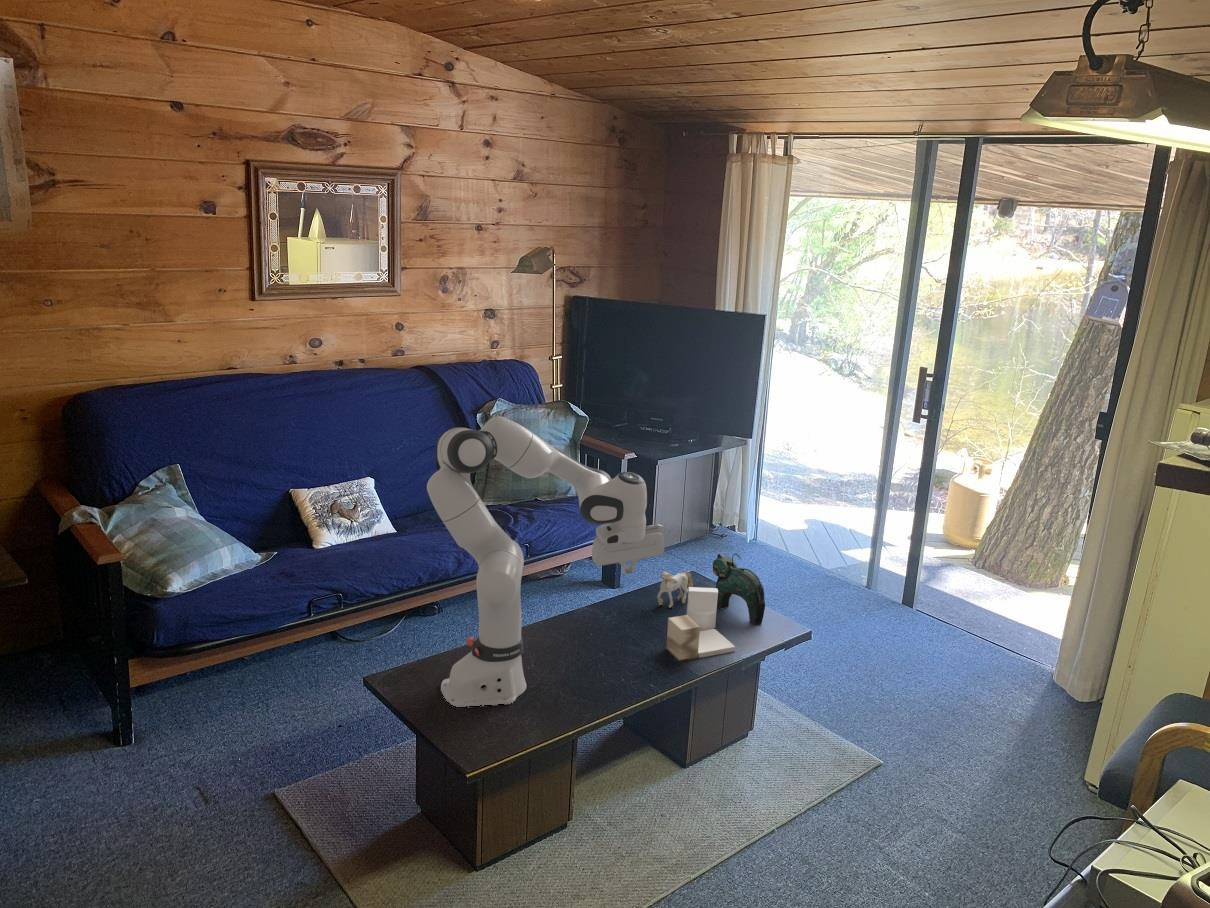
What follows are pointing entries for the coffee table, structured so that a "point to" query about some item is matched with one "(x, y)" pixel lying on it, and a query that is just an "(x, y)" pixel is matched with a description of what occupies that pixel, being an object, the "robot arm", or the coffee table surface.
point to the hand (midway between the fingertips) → (627, 572)
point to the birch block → (683, 638)
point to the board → (713, 643)
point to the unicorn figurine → (674, 585)
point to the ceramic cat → (739, 587)
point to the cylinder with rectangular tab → (702, 606)
